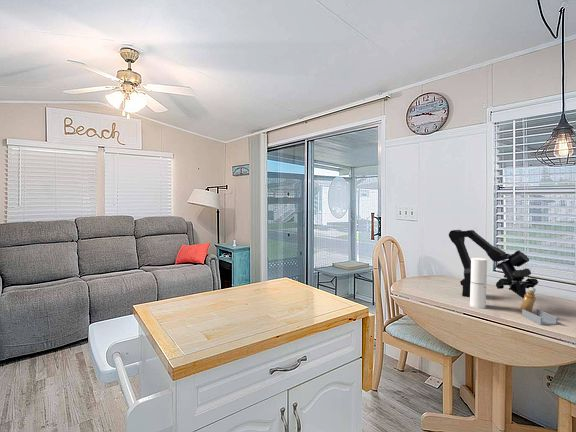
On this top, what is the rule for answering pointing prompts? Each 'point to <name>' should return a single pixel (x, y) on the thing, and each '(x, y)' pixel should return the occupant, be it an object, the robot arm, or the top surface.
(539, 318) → the grey cradle
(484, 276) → the cylindrical container
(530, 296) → the amber bottle
